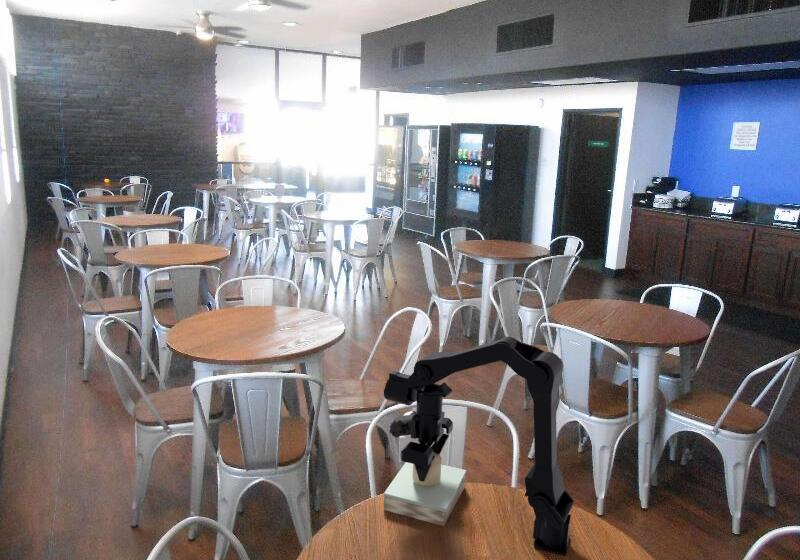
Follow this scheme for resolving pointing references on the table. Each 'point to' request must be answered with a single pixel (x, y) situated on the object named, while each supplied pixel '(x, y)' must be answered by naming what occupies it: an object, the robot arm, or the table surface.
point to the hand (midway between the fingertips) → (426, 473)
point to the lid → (426, 488)
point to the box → (422, 508)
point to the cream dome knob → (430, 473)
